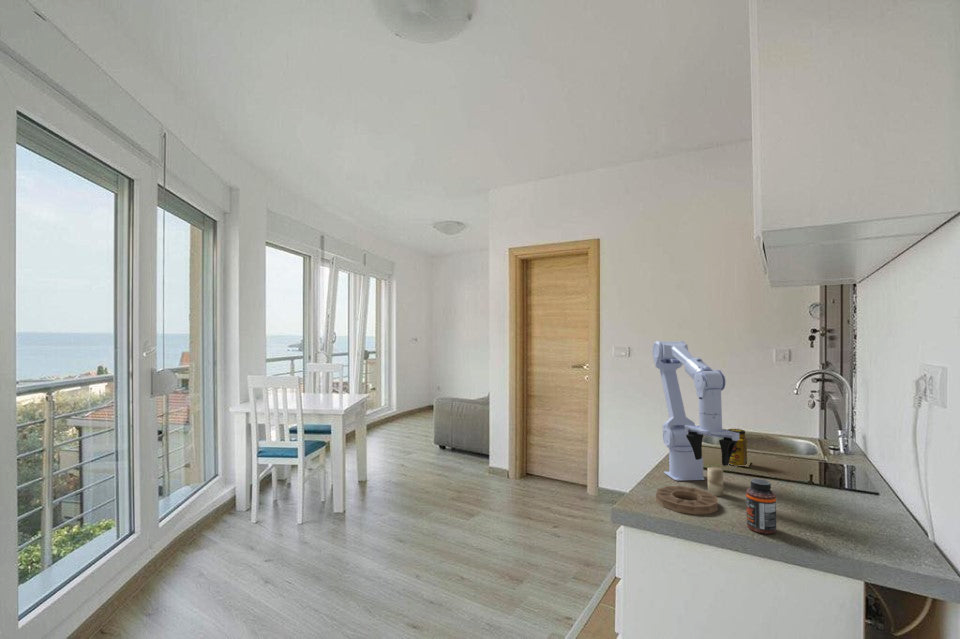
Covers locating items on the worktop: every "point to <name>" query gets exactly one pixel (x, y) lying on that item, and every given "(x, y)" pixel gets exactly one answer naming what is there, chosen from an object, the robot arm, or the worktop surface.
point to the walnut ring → (700, 505)
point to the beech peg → (715, 481)
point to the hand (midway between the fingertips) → (711, 462)
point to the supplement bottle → (761, 507)
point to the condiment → (739, 449)
